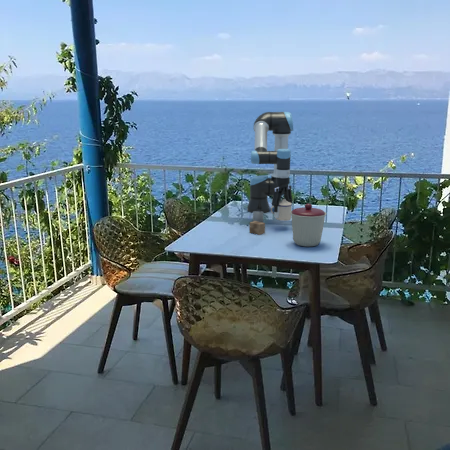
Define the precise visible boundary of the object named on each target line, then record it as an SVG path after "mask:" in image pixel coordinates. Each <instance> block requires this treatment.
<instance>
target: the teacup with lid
mask: <svg viewBox="0 0 450 450" xmlns="http://www.w3.org/2000/svg"><path fill="white" fill-rule="evenodd" d="M278 206H279V218H275V220H277V221H282V222H285V221H290V220H291V221H292V218H291V214H290V211H292V206H293V203H290V202H288V201H286V199H285V198H282V200H280V202H279V205H278ZM273 209H274V206H272V205H271V207H270V213H271V214H273V215H274V210H273Z"/></svg>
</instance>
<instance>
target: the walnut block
mask: <svg viewBox="0 0 450 450" xmlns="http://www.w3.org/2000/svg"><path fill="white" fill-rule="evenodd" d="M248 231H249V232H248V233H250V234H252V233H253V234H254V235H256V234H257V236H261V235H264V234H266V223H265V222H264V221H263V222H258V221H253V220H252V221H250V222H249V230H248Z"/></svg>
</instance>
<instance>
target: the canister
mask: <svg viewBox="0 0 450 450" xmlns="http://www.w3.org/2000/svg"><path fill="white" fill-rule="evenodd" d="M290 214H291V229H292V239H293V241H294V242H293V243H295V244H296V245H298V246H300V247H316V246H319V244H320V243H321V240H322V235H323V231H324V224H325V218H326V216H327V212H326V211H324V210H323V209H320V208H317V207H313V205H312V203H306V204H305V205H304V207H296V208H294V209H291V211H290Z"/></svg>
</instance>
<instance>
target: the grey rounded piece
mask: <svg viewBox="0 0 450 450" xmlns="http://www.w3.org/2000/svg"><path fill="white" fill-rule="evenodd" d="M253 221H258V222H263V223H264V213H263V212H262V211H253V212H252V222H253Z"/></svg>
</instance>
